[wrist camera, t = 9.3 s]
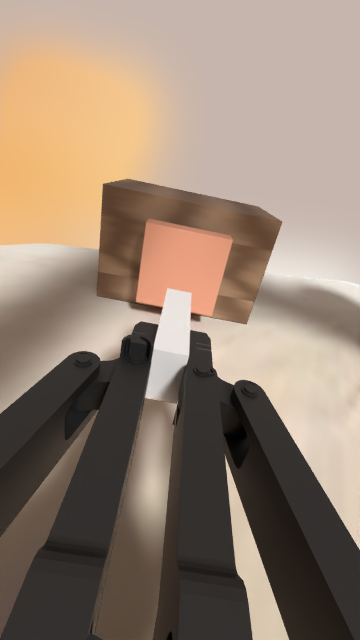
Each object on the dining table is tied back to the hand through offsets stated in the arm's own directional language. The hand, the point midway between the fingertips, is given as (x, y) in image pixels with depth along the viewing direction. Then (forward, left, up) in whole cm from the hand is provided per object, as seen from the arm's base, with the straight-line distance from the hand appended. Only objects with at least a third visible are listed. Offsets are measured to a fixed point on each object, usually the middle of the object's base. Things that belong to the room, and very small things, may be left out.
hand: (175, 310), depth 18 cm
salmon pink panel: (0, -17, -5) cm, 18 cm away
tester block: (0, -20, -7) cm, 21 cm away
